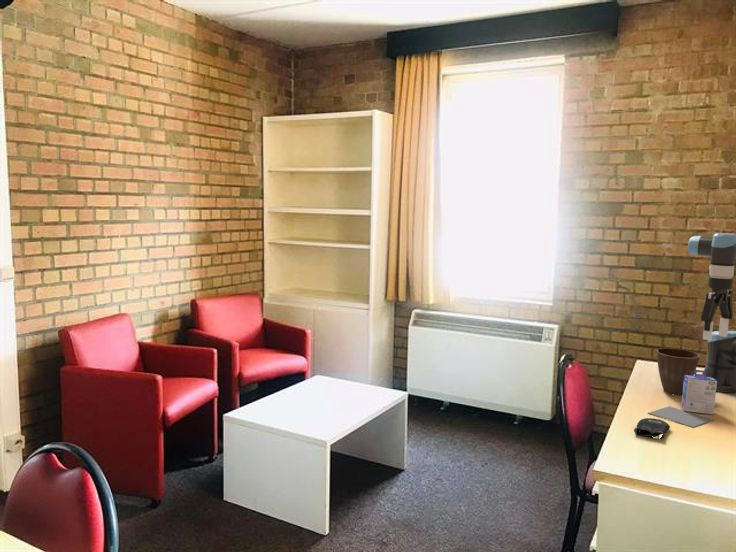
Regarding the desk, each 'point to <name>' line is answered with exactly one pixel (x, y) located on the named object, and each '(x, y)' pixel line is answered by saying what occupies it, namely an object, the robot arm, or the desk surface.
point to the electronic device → (652, 427)
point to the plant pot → (675, 368)
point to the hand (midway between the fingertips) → (715, 338)
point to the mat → (681, 416)
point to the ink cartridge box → (699, 393)
